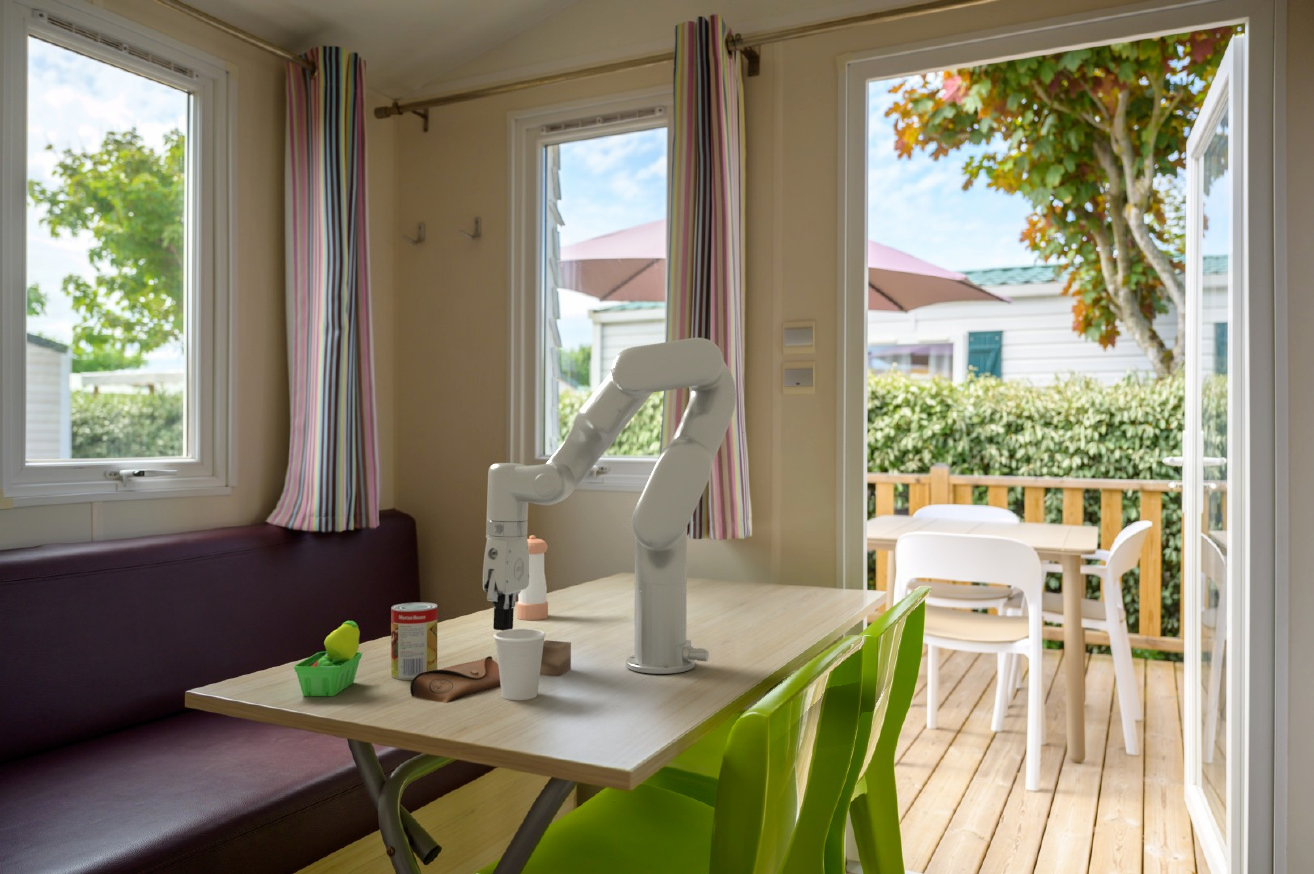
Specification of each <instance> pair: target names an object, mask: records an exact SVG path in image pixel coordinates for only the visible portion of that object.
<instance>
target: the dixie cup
mask: <svg viewBox="0 0 1314 874" xmlns="http://www.w3.org/2000/svg"><path fill="white" fill-rule="evenodd" d="M546 636H547V633H546V632H545V631H544V630H540V629H535V628H513V629H509V630H503V631H502V630H498V631H497V632H496V633H494V634H493V638H494V639H495V647H496V649H495V650H496V656H497V658H496V659H497V664H498V666H499V675H500V685H501V686H500V690H501V697H502V698H503V699H505V700H507V701H526V700H532V699H535V698H536V697H537V696H538V692H539V683H540V676H541V674H540V669H541V660H542V652H543V644H544V641H545V637H546Z"/></svg>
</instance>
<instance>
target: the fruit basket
mask: <svg viewBox="0 0 1314 874" xmlns="http://www.w3.org/2000/svg"><path fill="white" fill-rule="evenodd" d="M360 632H361V631H360V629H359V625H358V623H357V622H355V621H353V620H347V621H345V622H342V623H341V626H339V627H337V629H335V630H333V631H332V632H330V634H328V635H327V636H326V638H325V640H324V642H323V645H324V647H325V651H319V652H316V653H315V654H313V655H312V656H310V657H307V658H306V659H304V660H302V661H300V662H299V663H297V664H295V665H293V669H294V672H295V673H296V675H297V679H298V682H299V686H300V689H301V693H302V695H303V697H310V696H311V697H334V696H336V695H337V694H339V693H341V692H342V691H343V690H344V689H346V688H348V687H349V686H351V685H352V684H354V682H355V679H356V675H357V671H358V667H359V663H360V660H361V659H362V656H363V652H361V651H358V650H359V647H360V634H361V633H360Z"/></svg>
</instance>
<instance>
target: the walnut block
mask: <svg viewBox="0 0 1314 874" xmlns="http://www.w3.org/2000/svg"><path fill="white" fill-rule="evenodd" d="M571 670H572V642H571V641H570V642H569V641H558V640H547V639H546V640H545V639H544V644H543V652H542V660H541V669H540V676H551V677H554V676H555V677H560V676H562V675H564V674H565V673H567V672H569V671H571Z"/></svg>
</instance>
